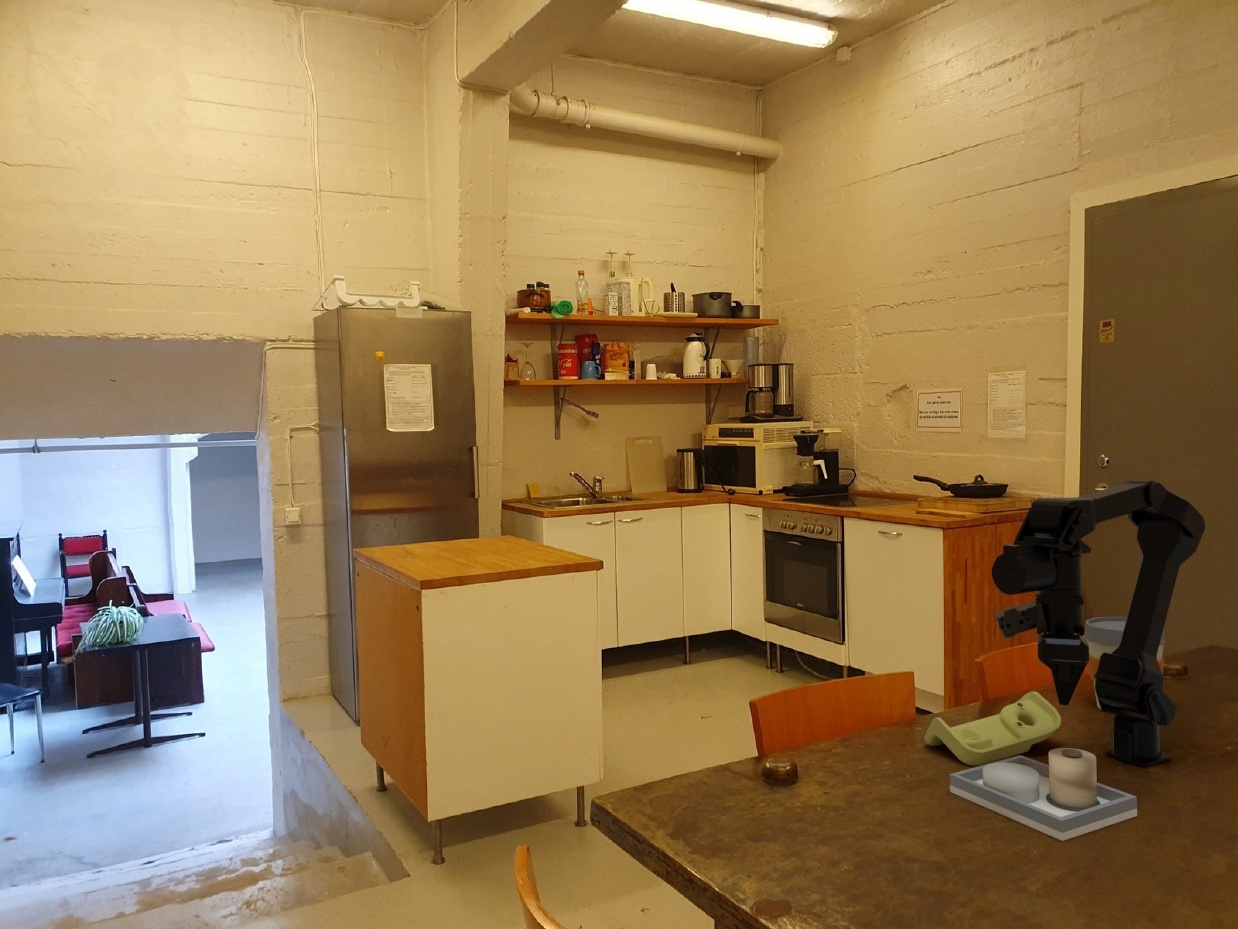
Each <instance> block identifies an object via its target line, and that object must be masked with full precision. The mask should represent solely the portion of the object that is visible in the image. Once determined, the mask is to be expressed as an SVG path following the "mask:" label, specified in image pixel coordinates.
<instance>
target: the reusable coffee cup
mask: <svg viewBox="0 0 1238 929" xmlns="http://www.w3.org/2000/svg"><path fill="white" fill-rule="evenodd" d="M1126 619H1127V616H1103V617H1101V616H1100V617H1093V618H1090V619H1086V621H1085V625H1084V634H1083V638H1084V639H1085V640H1086V641H1087V642H1088V646H1089V661H1088V664H1087V666H1088V673H1089V678H1090V680H1091V681H1093V687H1094V694H1095V699H1096V706H1097V708H1098V709H1100V710H1101V708H1100V704H1099V701H1098V697H1097V694H1096V691H1095V680H1096V678H1094V675H1095V674H1096V672H1097V670H1098V666H1099V660H1100V656H1101V655H1102V654H1103V653H1104V652H1105V653H1110V654H1111V653H1112V652H1113V651H1114V650H1115V649H1116V648H1118V647H1119V645H1120V642H1121V638H1122V634H1123V631H1124V627H1125V623H1126ZM1166 641H1167V640H1166V635H1165V628H1164V629H1163V632H1162V636H1161V640H1160V644H1159V648H1158V652H1157V657H1156V658H1157V661H1158V664H1159V666H1160V669H1161V672H1162V674H1163V675H1164V666H1165V657H1164V656H1163V653H1164V645H1165V644H1166V643H1167V642H1166Z"/></svg>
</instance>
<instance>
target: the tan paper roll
mask: <svg viewBox="0 0 1238 929" xmlns="http://www.w3.org/2000/svg"><path fill="white" fill-rule="evenodd" d="M1048 765H1049V788H1050V800H1051V801H1052V802H1054V803H1056V804H1058V805H1060V806H1064V807H1068V808H1074V809H1088V808H1091V807H1094V806H1096V805H1097V783H1098V782H1097V778H1098V777H1097V757H1096V755H1095V754H1093V753H1091V752H1090V751H1086V750H1084V749H1079V748H1074V747H1073V748H1072V747H1058V748H1053V749H1050V750H1049V751H1048Z"/></svg>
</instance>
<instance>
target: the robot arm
mask: <svg viewBox="0 0 1238 929" xmlns="http://www.w3.org/2000/svg"><path fill="white" fill-rule="evenodd" d="M1030 505H1031V506H1030V508H1029V509H1028V511H1027V513H1026V515H1025V517H1024V519H1023V521H1022V524H1021V526H1020V527H1019V529H1018V532H1017V534H1016V536H1015V538H1014V540H1013V544H1004V545H1003V546H1002V554H1000V555H998V556H997V557H996V559H995V560H994V562H993V565H992V567H991V578H992V580H993V583H994V585H995V587H997V589H998V590H999V591H1001V593H1002V594H1006V595H1008V596H1012V595H1013V596H1015V595H1020V594H1027V593H1032V592H1035V601H1034V600H1033V601H1031V602H1028V603H1023V604H1018V605H1016V606H1015V605H1013V606H1012V607H1009V608H1004V609H1002V610H1000V611H997V612H996V613H995V619H996V623H997V625H998V628H999V630H1000V631H1001V634H1002V637H1003V638H1005V639H1008V638H1011V637H1014V636H1015V635H1017V634H1021V633H1024V632H1028V631H1032V630H1034V629H1036V634H1037V640H1036V641H1037V659H1038V660H1039V661H1040V663H1041V664H1044V665H1045V666H1046V667H1047V668H1049V670H1050V672H1051V676H1052V679H1053V683H1054V688H1055V692H1056V696H1057V701H1058V704H1059V706H1069V704H1070V702H1071V700H1072V697H1073V696H1074V693H1075V691H1076V688H1077V686H1078V684H1079V682H1080V680H1081V677H1082V675H1083V673H1084V671H1085V669H1086V668H1087V666H1088V661H1089V646H1088V642H1087V640H1086V639H1085V638H1084V635H1085V625H1084V608H1083V607H1084V595H1083V570H1082V568H1083V566H1082V564H1083V563H1082V555H1083V554H1091V552H1092V548H1091V547H1090V546H1089V545H1088V544H1086V542H1084V541H1083V540H1082V539H1084V538H1085V537H1087V536H1089V535H1091V534H1092V533H1094V531H1095V530H1096V528H1097V525H1099V524H1100V523H1103V522H1106V521H1110V520H1112V519H1117V518H1119V517H1123V516H1125V515H1128V516H1127V517H1128V520H1129V521H1130V522H1131V523H1132V525H1134V526H1135V527H1136V529H1137V530H1136V536H1135V537H1136V541H1137V544H1138V547H1139V549H1140V551H1141V555H1142V560H1141V563H1140V567H1139V571H1138V574H1137V578H1136V582H1135V586H1134V590H1133V593H1132V597H1131V600H1130V604H1129V608H1128V612H1127V616H1126V617H1127V619H1126V623H1125V627H1124V631H1123V634H1122V638H1121V642H1120V645H1119V647H1118V648H1116V649H1115V650H1114V651H1113V652H1112V653H1111V654H1110V653H1105V652H1104V653H1103V654H1102V655H1101V656H1100V660H1099V666H1098V670H1097V672H1096V674H1095V675H1094V678H1096V680H1095V689H1094V692H1095V691H1096V694H1097V697H1098V701H1099V704H1100V708H1101V709H1100V710H1101V712H1103V713H1106V714H1111V715H1114V716H1113V729H1112V735H1113V736H1112V737H1113V740H1112V741H1113V742H1112V743H1113V745H1112V746H1113V747H1112V748H1110V749H1106V750H1104V753H1105V755H1107V756H1110V757H1113V758H1114V759H1119V760H1121V761H1125V762H1128V763H1132V764H1134V765H1137V766H1141V767H1149V766H1152V765H1155V764H1159V763H1162V762H1166V761H1169V760H1171V759H1172V755H1171V754H1168V753H1165V752H1162V730H1161V728H1162V727H1161V726H1170V725H1171V724H1170V723H1171V722H1173V721H1175V720H1174V719H1175V717H1176V710H1177V706H1176V705H1175V704H1174V703H1173V702H1172V700H1171V699H1170V698H1169V697H1168V696H1167V694H1166V693H1165V692H1164V691H1163V685H1164V673H1163V674H1162V672H1161V669H1160V666H1159V664H1158V661H1157V658H1156V657H1157V652H1158V648H1159V644H1160V640H1161V636H1162V632H1163V629H1164V630H1165V624H1166V620H1167V616H1168V612H1169V609H1170V605H1171V600H1172V598H1173V593H1174V590H1175V585H1176V582H1177V578H1178V574H1179V570H1180V567H1181V565H1183V564H1184V563H1185V562H1187V560H1188V559H1189V558H1190V557H1191V556H1192V555H1194V554H1195V553H1196V552H1197V549H1198V547H1199V544H1200V542H1201V540H1202V537H1203V534H1204V533H1205V531H1206V530H1205V529H1206V522H1205V518H1204V516H1203V515H1202V514H1201V513H1200V512H1199V511H1198V510H1197V508H1196V507H1194V506H1193V505H1192V503H1191V502H1189V501H1187V500H1185V499H1184V498H1182V497H1180V496H1178V495H1176V494H1174V493H1172V492H1171V491H1168V489H1167V488H1166V487H1165V486H1164V485H1163V484H1162V483H1160V482H1158V481H1156V480H1138V479H1131V480H1126V481H1124V482H1122V484H1118V485H1115V486H1111V487H1110V486H1109V487H1108V488H1104V489H1101V490H1098V491H1095V492H1094V491H1093V492H1090V493H1087V494H1083V495H1080V496H1077V497H1040V498H1036V499H1035V500H1034V501H1033V502H1031V503H1030Z"/></svg>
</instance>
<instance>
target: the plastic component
mask: <svg viewBox="0 0 1238 929" xmlns="http://www.w3.org/2000/svg"><path fill="white" fill-rule="evenodd" d="M1061 723H1062V718H1061V715H1060V713H1059V711H1058V709H1056V708H1055V707H1054V705H1053V704H1051V703H1050V702H1049V701H1048V700H1047V699H1045V698H1044V697H1043V696H1042V695H1041V693H1039V692H1037V691H1030V692H1027V693H1025V694H1024V695H1023V696H1022V697H1021V698H1019V700H1018V701H1015V702H1014V703H1011V704H1008V705H1006V706H1004V707H1003V708H1002V709H1001V710H1000V713H998V714H994V715H991V716H987V717H984V718H980V719H976V720H973V721H969V722H966V723H962V724H958V725H955V726H952V727H950V726H949V725H948V724H947V723H946V722H945V721H944V720H943V719H942V718H941V717H935V718H932V720H931V721H930V724H929V726H928V728H927V730H926V732H925V735H924V741H925V742H926V743H927V745H929V746H931V747H937V746H940V745H946V747H947V748H948V749H949V751H951V752H952V753H953V755H955V756H956V758H957V759H958V760H959V761H960V762H961V763H963V764H965V765H969V766H974V767H978V766H982V765H986V764H989V763H993V762H997V761H1001V760H1004V759H1008V758H1012V757H1015V756H1019V755H1021V754H1024V753H1027V752H1029V751H1030V749H1031V748H1032V746H1033V745H1034V744H1038V743H1041V742H1043V741H1046V740H1047V739H1049V738H1051V736H1052V735H1053V734H1054V733H1055V732H1056V731H1057V730H1058V729H1059V728H1060V727H1061Z"/></svg>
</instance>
